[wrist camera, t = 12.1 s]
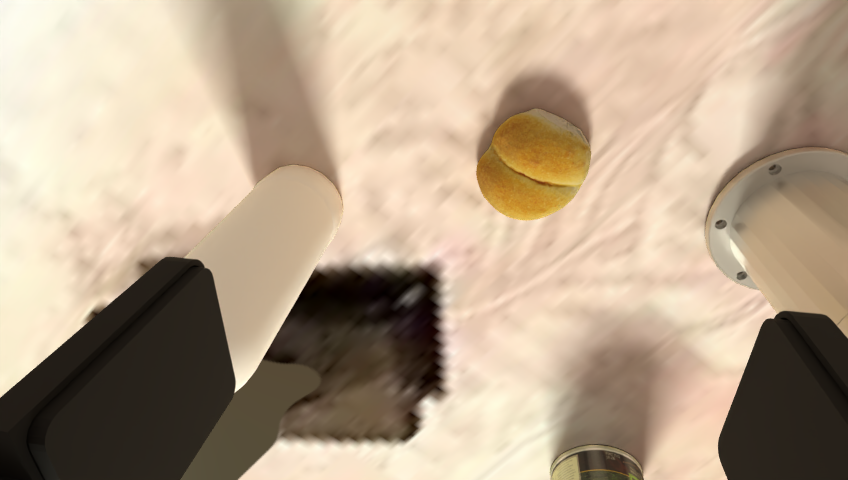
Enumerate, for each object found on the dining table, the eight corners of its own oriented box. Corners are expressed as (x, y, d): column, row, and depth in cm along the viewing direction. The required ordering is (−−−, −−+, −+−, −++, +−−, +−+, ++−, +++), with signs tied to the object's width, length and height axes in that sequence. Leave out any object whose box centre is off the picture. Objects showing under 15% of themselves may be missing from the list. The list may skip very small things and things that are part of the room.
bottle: (359, 227, 49) (195, 552, 23) (288, 252, 51) (65, 572, 25) (317, 149, 45) (70, 424, 19) (243, 180, 48) (-65, 461, 22)
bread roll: (463, 186, 46) (460, 206, 42) (515, 92, 41) (516, 106, 38) (547, 227, 46) (551, 250, 43) (607, 139, 42) (616, 157, 39)
